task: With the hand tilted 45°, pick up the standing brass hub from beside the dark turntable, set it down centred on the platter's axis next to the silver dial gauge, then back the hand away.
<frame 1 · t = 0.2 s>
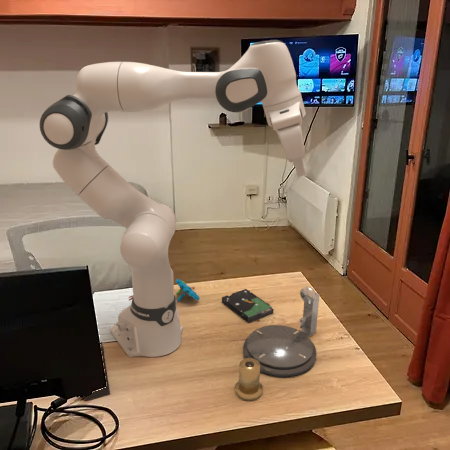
hand: (300, 169, 107), 52 cm above the table, tool tilted 20°, fingers open, 8 cm apart
brass hub: (248, 391, 111), on the table
turntable base: (279, 353, 125), on the table
turntable platter: (279, 345, 124), point 2 cm above the table, hinge at 0.0°
dial gauge: (308, 332, 134), on the table
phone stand: (94, 387, 112), on the table
disk drive: (247, 309, 147), on the table
gear: (187, 299, 152), on the table
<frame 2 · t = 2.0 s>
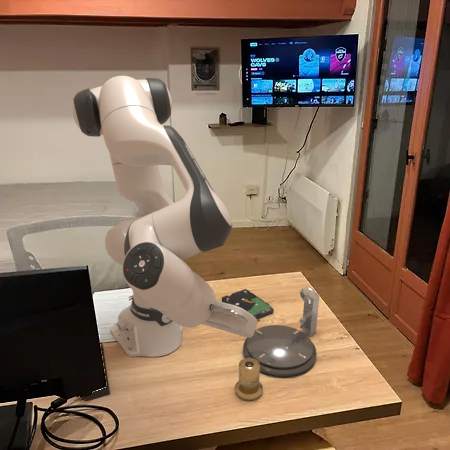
hand: (219, 324, 90), 27 cm above the table, tool tilted 45°, fingers open, 8 cm apart
nothing on the table moved.
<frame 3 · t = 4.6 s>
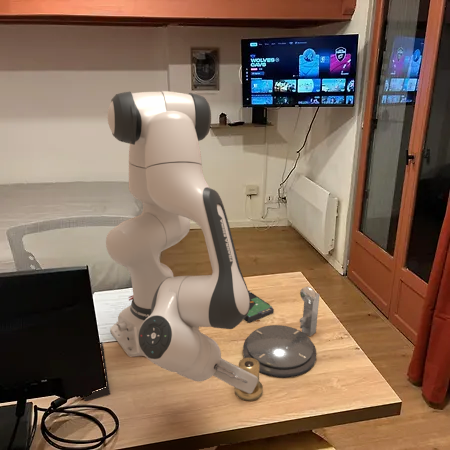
hand: (227, 371, 100), 12 cm above the table, tool tilted 45°, fingers open, 8 cm apart
nothing on the table moved.
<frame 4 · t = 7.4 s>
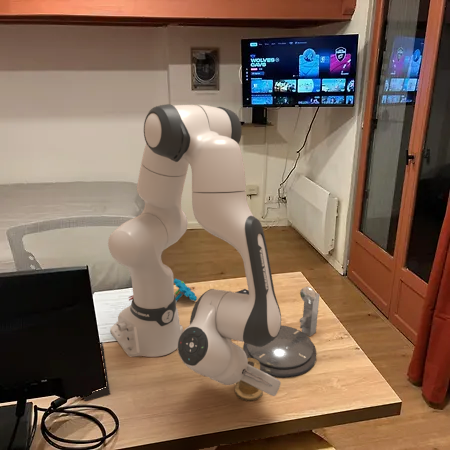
hand: (250, 375, 110), 4 cm above the table, tool tilted 45°, fingers closed on brass hub, 5 cm apart
brass hub: (248, 391, 111), on the table, touching gripper
everything else where it was.
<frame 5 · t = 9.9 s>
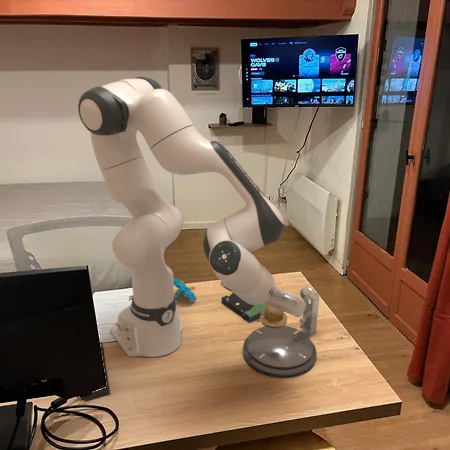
hand: (275, 304, 114), 18 cm above the table, tool tilted 45°, fingers closed on brass hub, 5 cm apart
brass hub: (273, 320, 115), point 14 cm above the table, touching gripper
everything else where it was.
when the fingers open (9 cm above the table, at t = 12.5 s): brass hub drops 1 cm, resting on turntable platter.
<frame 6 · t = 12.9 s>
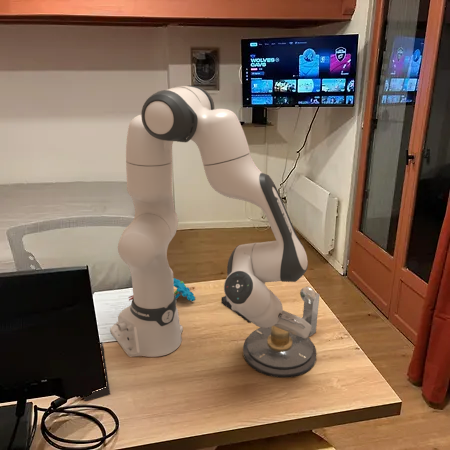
hand: (282, 324, 122), 9 cm above the table, tool tilted 45°, fingers open, 8 cm apart
brass hub: (279, 343, 124), point 3 cm above the table, touching turntable platter
turntable platter: (279, 345, 124), point 2 cm above the table, hinge at 0.0°, touching brass hub
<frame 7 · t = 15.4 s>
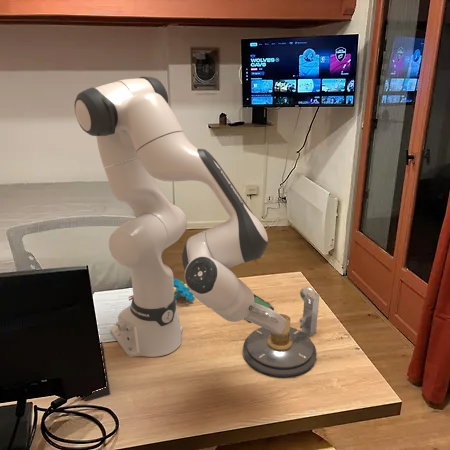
hand: (256, 318, 110), 17 cm above the table, tool tilted 45°, fingers open, 8 cm apart
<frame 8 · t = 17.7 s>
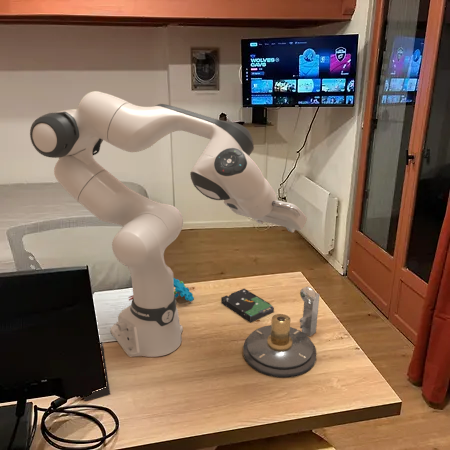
hand: (276, 225, 118), 35 cm above the table, tool tilted 45°, fingers open, 8 cm apart
at the end: brass hub 0.0 cm off-centre on the turntable platter, point 3.1 cm above the turntable platter's base; brass hub tilted 0°; the gripper is holding nothing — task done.
